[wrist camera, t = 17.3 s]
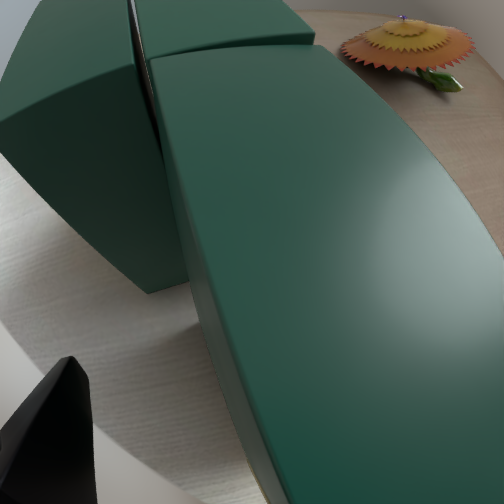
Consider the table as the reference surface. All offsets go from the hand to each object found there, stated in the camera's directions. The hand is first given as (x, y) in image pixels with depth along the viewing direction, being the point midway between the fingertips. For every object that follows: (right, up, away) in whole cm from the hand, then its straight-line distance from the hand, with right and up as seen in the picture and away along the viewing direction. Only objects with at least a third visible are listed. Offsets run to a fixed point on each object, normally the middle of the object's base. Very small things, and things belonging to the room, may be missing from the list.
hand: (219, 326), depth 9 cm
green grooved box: (-3, +4, +11) cm, 12 cm away
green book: (+1, -4, +7) cm, 8 cm away
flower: (+16, +22, +18) cm, 32 cm away
